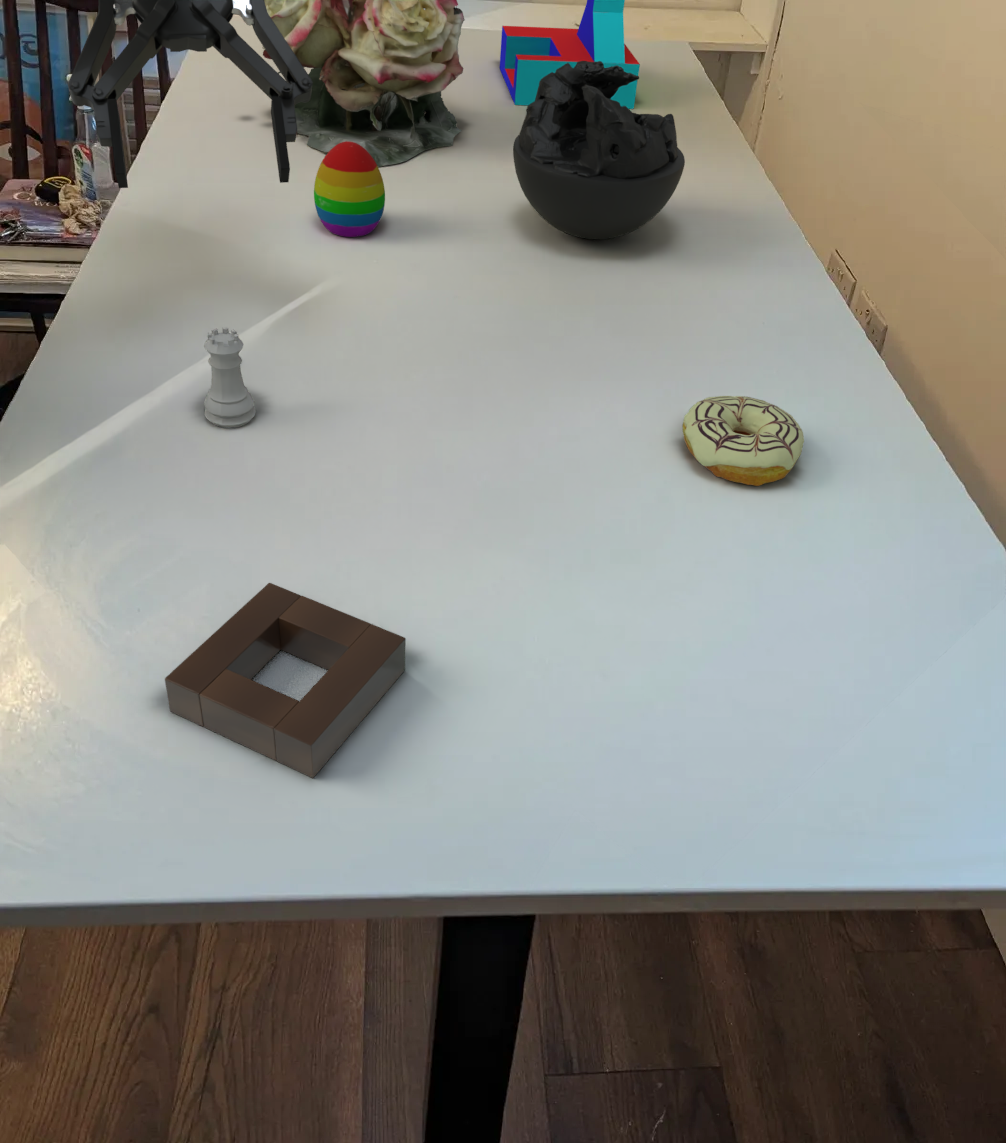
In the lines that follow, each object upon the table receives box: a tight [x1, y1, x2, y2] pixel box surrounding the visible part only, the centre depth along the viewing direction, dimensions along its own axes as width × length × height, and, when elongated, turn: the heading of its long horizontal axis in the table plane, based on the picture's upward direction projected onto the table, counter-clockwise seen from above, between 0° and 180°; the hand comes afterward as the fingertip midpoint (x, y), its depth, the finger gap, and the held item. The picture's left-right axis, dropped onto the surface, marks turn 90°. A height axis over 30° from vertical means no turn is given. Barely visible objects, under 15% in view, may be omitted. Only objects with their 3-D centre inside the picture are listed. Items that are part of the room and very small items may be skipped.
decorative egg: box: [313, 141, 386, 238], centre depth 130 cm, size 8×8×10 cm
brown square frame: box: [164, 582, 407, 779], centre depth 73 cm, size 11×11×3 cm
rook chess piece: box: [203, 327, 257, 429], centre depth 97 cm, size 4×4×8 cm
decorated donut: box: [681, 395, 805, 487], centre depth 99 cm, size 10×11×4 cm
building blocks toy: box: [499, 0, 641, 110], centre depth 178 cm, size 19×25×18 cm
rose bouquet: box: [261, 0, 466, 168], centre depth 149 cm, size 26×29×30 cm
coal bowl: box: [512, 61, 686, 240], centre depth 131 cm, size 20×20×19 cm
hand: (204, 179), depth 96 cm, fingers open, 13 cm apart
